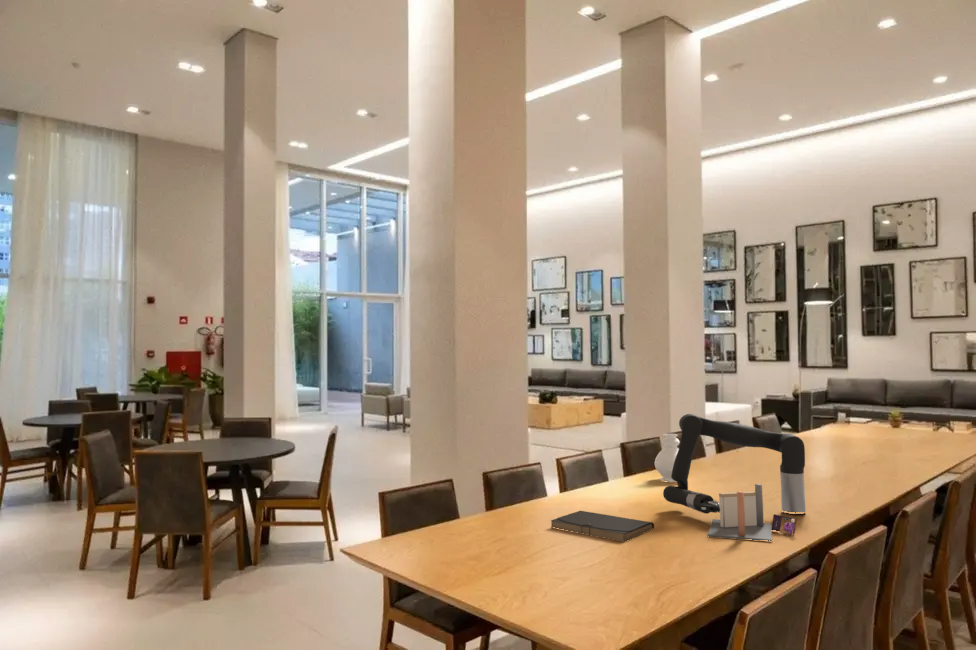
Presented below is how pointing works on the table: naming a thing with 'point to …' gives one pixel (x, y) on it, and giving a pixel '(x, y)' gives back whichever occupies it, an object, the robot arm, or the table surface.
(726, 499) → the panel
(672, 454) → the decorative vase
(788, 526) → the purple decorated picture frame
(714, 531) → the board
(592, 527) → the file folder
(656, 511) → the table surface
